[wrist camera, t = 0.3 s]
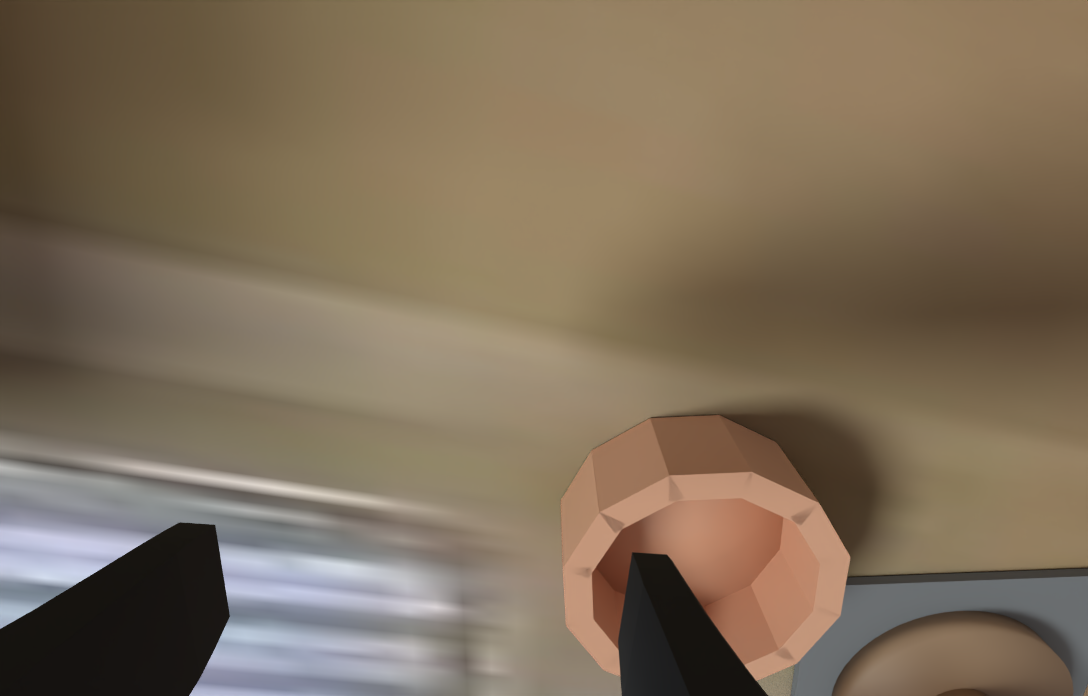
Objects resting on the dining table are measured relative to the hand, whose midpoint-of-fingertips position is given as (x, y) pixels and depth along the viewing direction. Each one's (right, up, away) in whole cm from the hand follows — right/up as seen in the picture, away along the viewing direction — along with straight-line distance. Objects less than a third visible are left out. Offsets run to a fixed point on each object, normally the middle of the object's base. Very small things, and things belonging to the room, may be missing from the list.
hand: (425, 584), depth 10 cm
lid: (+19, -10, +14) cm, 26 cm away
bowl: (+7, -2, +12) cm, 14 cm away
